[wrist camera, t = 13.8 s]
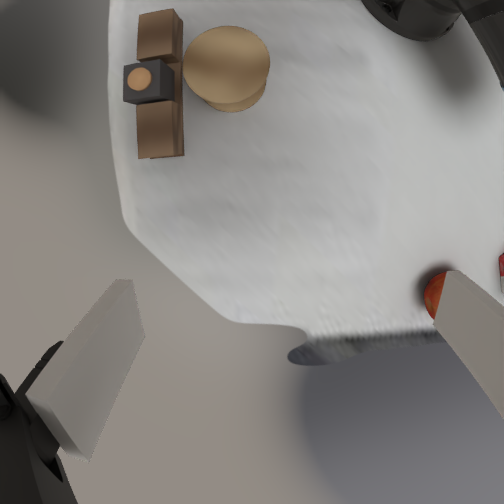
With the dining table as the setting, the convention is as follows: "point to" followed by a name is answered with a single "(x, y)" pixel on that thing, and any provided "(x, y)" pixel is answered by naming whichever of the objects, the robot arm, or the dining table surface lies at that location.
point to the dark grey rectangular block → (148, 82)
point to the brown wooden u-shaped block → (169, 112)
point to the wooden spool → (227, 68)
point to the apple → (434, 293)
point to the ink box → (502, 271)
